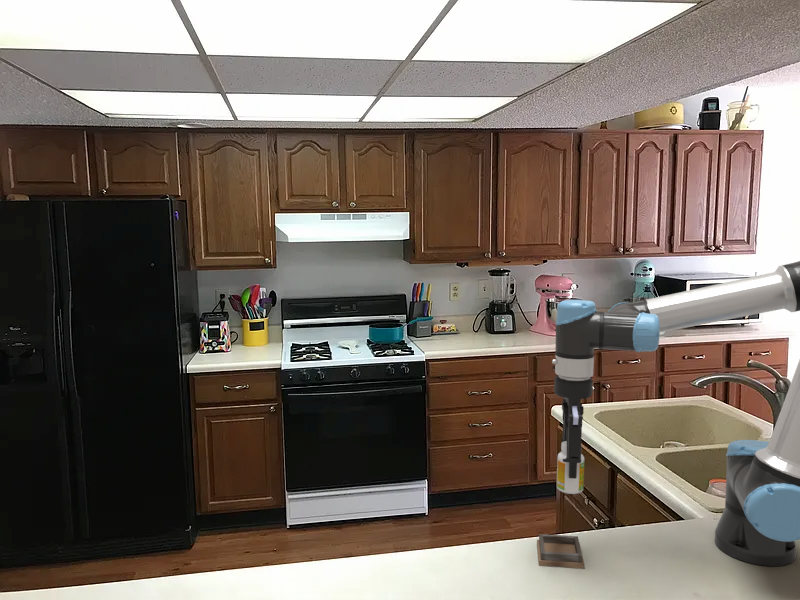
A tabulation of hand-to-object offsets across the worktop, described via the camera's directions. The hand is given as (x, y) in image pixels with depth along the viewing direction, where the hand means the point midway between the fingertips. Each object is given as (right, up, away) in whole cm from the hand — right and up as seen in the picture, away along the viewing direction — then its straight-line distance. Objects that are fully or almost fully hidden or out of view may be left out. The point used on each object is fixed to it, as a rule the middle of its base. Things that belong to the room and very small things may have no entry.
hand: (569, 485), depth 131 cm
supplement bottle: (0, -1, 0) cm, 1 cm away
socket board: (-2, -15, +2) cm, 16 cm away
